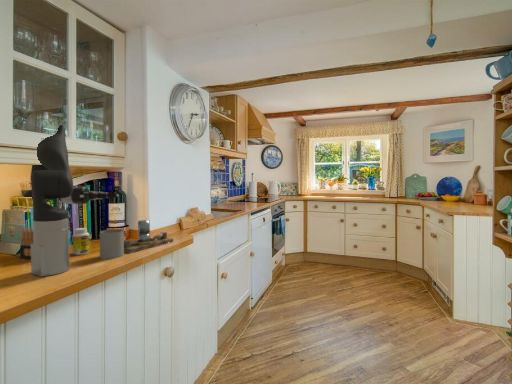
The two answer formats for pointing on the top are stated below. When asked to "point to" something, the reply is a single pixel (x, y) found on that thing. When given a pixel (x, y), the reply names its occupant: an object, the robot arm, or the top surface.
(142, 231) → the universal joint
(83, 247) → the supplement bottle
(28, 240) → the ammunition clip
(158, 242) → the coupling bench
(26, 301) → the top surface
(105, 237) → the cup
